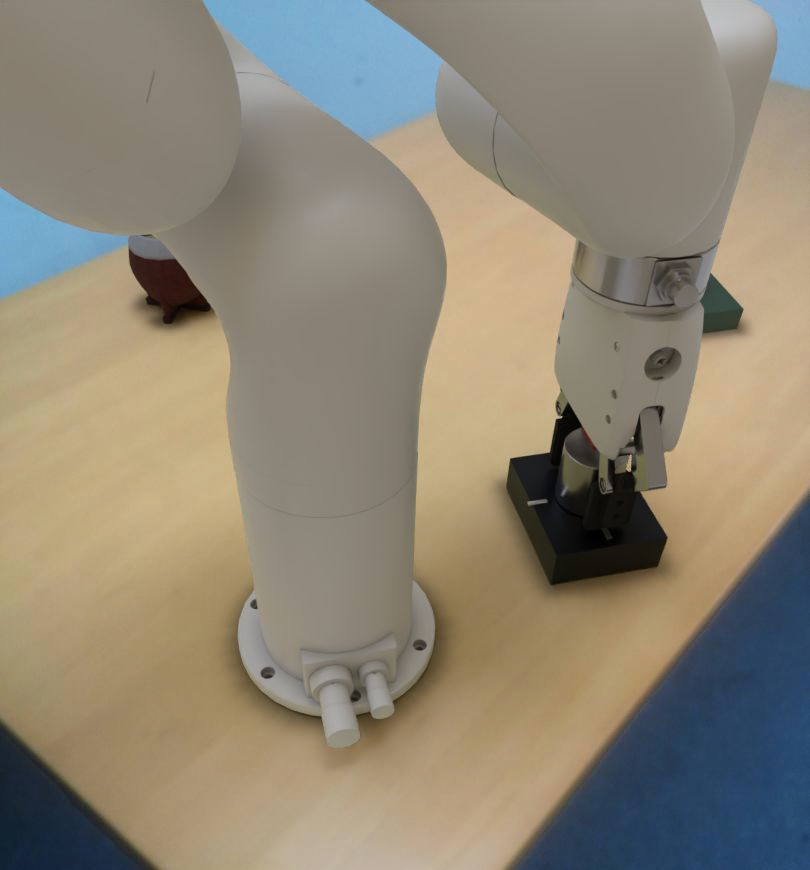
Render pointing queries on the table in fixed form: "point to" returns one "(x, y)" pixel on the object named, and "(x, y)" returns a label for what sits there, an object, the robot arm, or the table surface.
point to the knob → (580, 471)
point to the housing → (719, 308)
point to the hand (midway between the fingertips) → (587, 490)
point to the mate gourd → (163, 277)
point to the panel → (578, 528)
